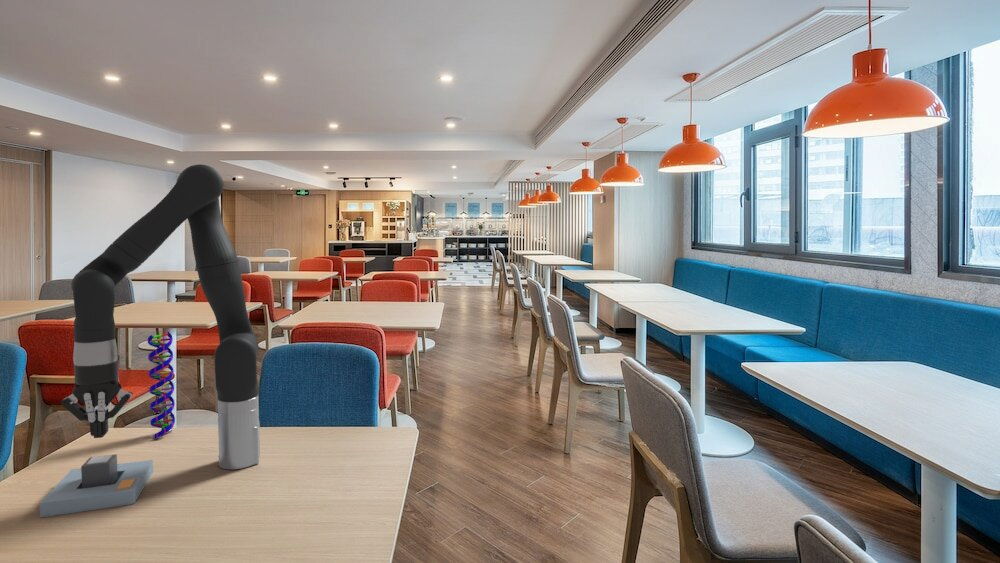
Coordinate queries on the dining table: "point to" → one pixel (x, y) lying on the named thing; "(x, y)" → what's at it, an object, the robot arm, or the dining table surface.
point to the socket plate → (97, 490)
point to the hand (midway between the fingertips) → (99, 436)
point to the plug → (99, 471)
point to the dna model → (161, 383)
